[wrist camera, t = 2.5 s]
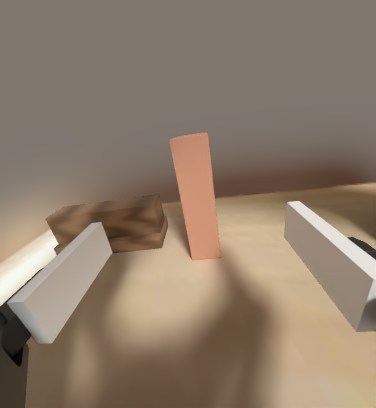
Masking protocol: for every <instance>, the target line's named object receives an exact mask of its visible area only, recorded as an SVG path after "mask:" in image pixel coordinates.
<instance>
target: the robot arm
mask: <svg viewBox="0 0 376 408" xmlns="http://www.w3.org/2000/svg"><path fill="white" fill-rule="evenodd" d="M284 237H285V239H286V240H287V241H288V243H289V244H290V245H291V247H292V248H293V249H294V251H295V252H296V253H297V255H298V256H299V257H300V258H301V260H302V261H303V262H304V264H305V265H306V266H307V268H308V269H309V270H310V272H311V273H312V274H313V276H314V277H315V278H316V280H317V281H318V282H319V284H320V285H321V286H322V287H323V289H324V290H325V291H326V293H327V294H328V295H329V297H330V298H331V299H332V301H333V302H334V303H335V305H336V306H337V307H338V309H339V310H340V311H341V313H342V314H343V315H344V317H345V318H346V319H347V320H348V322H349V323H350V324H351V326H352V327H353V328H354V330H355V331H356V332H366V331H376V250H375V249H374V248H372V247H371V246H370V245H368V244H367V243H365V242H363V241H361V240H358V239H356V238H354V237H348V238H346V237H345V236H344V235H343V234H341V233H340V232H339V231H337V230H336V229H335V228H333V227H332V226H331V225H330V224H328V223H327V222H326V221H324V220H323V219H322V218H320V217H319V216H318V215H317V214H315V213H314V212H313V211H311V210H310V209H309V208H307V207H306V206H305V205H304V204H302V203H301V202H300V201H293V202H287V205H286V219H285V232H284ZM111 254H112V250H111V247H110V244H109V242H108V239H107V236H106V234H105V231H104V228H103V226H102V223H101V222H98V223H91V224H90V225H89V226H88V227H87V228H86V229H85V230H84V231H83V232H82V233H81V234H79V235H78V236H77V237H76V238H75V239H74V240H73V241H72V242H71V243H70V244H69V245H68V246H67V247H66V248H65V249H64V250H62V251H61V252H60V253H59V254H58V255H57V256H56V257H55V258H54V259H53V260H52V261H51V262H50V263H49V264H48V265H46V266H45V267H44V268H42V269H41V270H39V271H38V272H37V273H36V274H35V275H34V276H33V277H32V279H30V280H28V281H27V282H26V283H25V285H23V286H22V287H21V288H20V289H19V290H18V291H17V292H16V293H14V294H13V295H12V296H11V297H10V298H9V299H8V300H7V301H6V302H5V303H4V304H3V305H2V306H0V408H25V396H26V382H27V367H28V353H29V348H28V345H27V344H26V342H27V341H28V339H29V338H30V337H31V336H32V337H33V339H34V340H35V341H36V343H37V344H45V343H53V341H54V340H55V338H56V337H57V335H58V334H59V332H60V331H61V329H62V328H63V326H64V325H65V323H66V322H67V320H68V319H69V317H70V316H71V314H72V313H73V311H74V310H75V308H76V307H77V305H78V304H79V302H80V301H81V299H82V298H83V296H84V295H85V293H86V292H87V290H88V289H89V287H90V286H91V284H92V283H93V281H94V280H95V278H96V277H97V275H98V273H99V272H100V270H101V269H102V267H103V266H104V264H105V263H106V261H107V260H108V258H109V257H110V255H111Z"/></svg>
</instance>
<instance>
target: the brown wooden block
mask: <svg viewBox="0 0 376 408" xmlns="http://www.w3.org/2000/svg"><path fill="white" fill-rule="evenodd" d="M46 221H47V223H48V225H49V226H50V228H51V230H52V232H53V234H54V236H55V238H56V240H57V242H58V243H59V244H58V245H57V246H56V247H55V248H54V250H55V252H56V254H57V255H58V254H59V253H60V252H61V251H62V250H64V249H65V248H66V247H67V246H68V245H69V244H70V243H71V242H72V241H73V240H74V239H75V238H76V237H77V236H78V235H79V234H81V233H82V232H83V231H84V230H85V229H86V228H87V227H88V226H89V225H90V224H91V223H98V222H101V223H102V226H103V228H104V231H105V234H106V236H107V239H108V242H109V244H110V247H111V250H112V253H116V252H126V251H136V250H145V249H155V248H162V245H163V242H164V238H165V235H166V231H167V228H168V222H167V218H166V216H164V213H163V209H162V204H161V200H160V196H159V195H158V194H157V195H149V196H142V197H135V198H127V199H119V200H112V201H104V202H98V203H89V204H83V205H74V206H67V207H63V208H61V209H60V210H58V211H57V212H55V213H54V214H52V215H50V216H49V217H47V218H46Z"/></svg>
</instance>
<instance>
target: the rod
mask: <svg viewBox="0 0 376 408" xmlns="http://www.w3.org/2000/svg"><path fill="white" fill-rule="evenodd" d="M170 145H171V150H172V156H173V161H174V166H175V171H176V177H177V182H178V187H179V192H180V198H181V203H182V209H183V214H184V219H185V224H186V230H187V235H188V240H189V246H190V251H191V256H192V260H200V259H210V258H221V251H220V242H219V233H218V224H217V214H216V205H215V196H214V188H213V178H212V169H211V160H210V150H209V141H208V134H207V133H206V132H204V133H198V134H192V135H186V136H180V137H174V138H173V139H171V140H170Z"/></svg>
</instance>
